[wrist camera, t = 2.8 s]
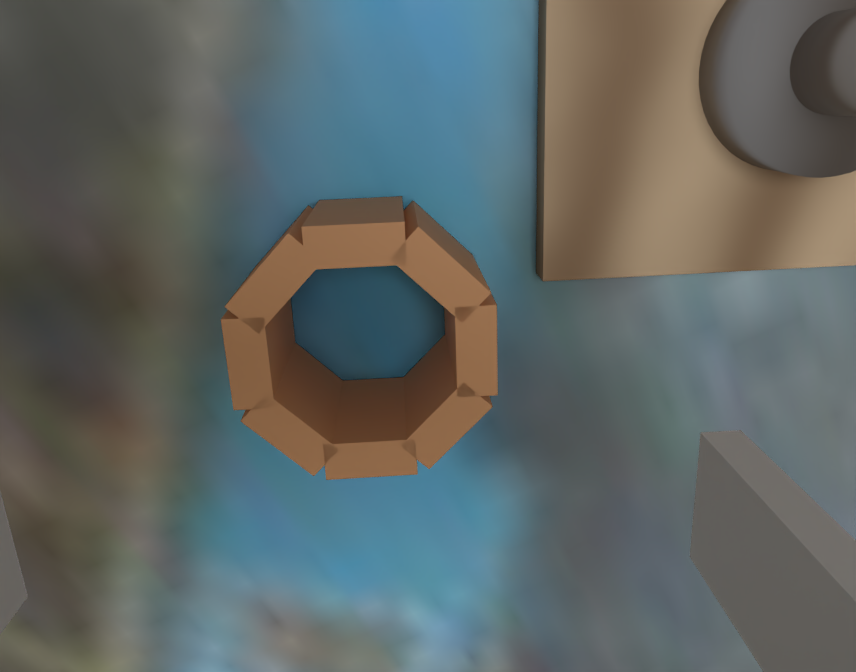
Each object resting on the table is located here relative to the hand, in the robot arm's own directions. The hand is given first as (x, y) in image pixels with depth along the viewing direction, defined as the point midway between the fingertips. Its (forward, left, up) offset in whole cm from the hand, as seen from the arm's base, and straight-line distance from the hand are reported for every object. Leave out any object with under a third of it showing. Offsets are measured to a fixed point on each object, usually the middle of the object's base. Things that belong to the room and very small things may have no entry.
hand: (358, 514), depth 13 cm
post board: (+14, +8, -13) cm, 20 cm away
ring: (0, 0, -13) cm, 13 cm away
